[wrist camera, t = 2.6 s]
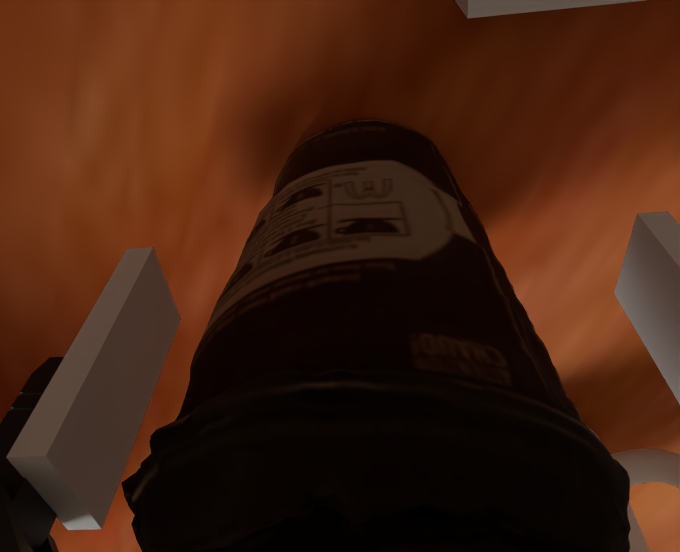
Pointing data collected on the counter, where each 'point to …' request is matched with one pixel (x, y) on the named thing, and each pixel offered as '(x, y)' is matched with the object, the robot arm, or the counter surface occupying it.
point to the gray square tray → (523, 6)
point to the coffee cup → (374, 383)
